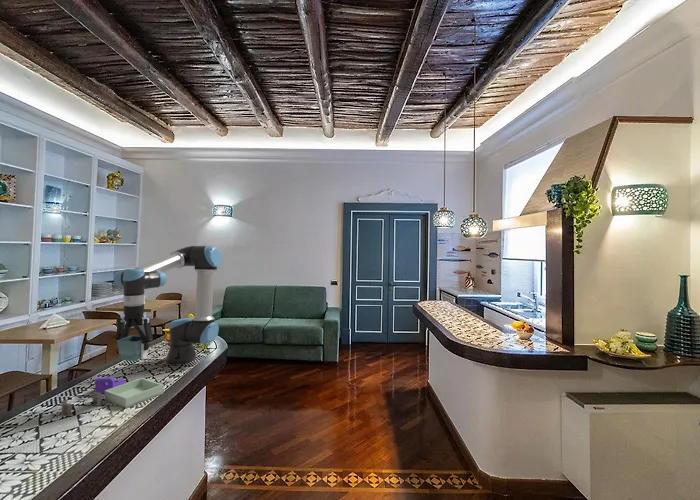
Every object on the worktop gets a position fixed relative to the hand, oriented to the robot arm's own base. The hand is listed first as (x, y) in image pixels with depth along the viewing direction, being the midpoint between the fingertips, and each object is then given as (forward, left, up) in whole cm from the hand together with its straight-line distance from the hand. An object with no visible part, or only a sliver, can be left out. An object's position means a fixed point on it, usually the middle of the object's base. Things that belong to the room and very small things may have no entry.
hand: (134, 357), depth 146 cm
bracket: (+3, -18, -18) cm, 25 cm away
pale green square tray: (0, 0, -17) cm, 17 cm away
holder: (+17, -5, -17) cm, 25 cm away
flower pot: (+1, 0, -1) cm, 1 cm away
